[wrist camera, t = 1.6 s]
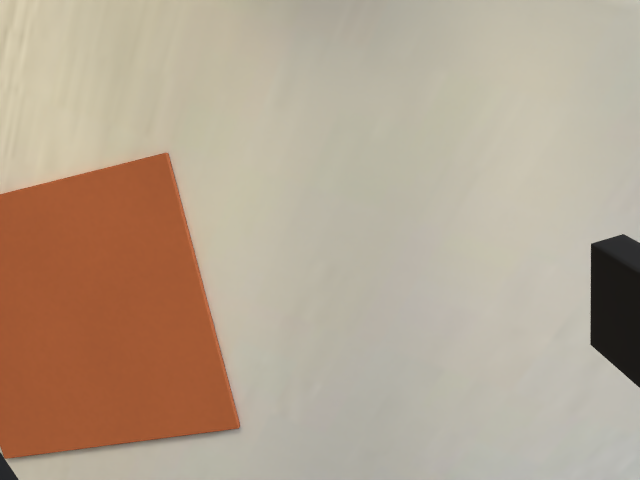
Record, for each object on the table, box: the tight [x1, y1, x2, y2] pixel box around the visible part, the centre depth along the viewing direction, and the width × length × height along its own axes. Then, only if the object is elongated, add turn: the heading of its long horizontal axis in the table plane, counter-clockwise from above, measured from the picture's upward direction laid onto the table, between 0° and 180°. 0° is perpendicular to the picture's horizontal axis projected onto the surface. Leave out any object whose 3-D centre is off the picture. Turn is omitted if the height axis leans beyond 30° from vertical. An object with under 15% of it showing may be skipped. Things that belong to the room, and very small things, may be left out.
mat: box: [0, 153, 240, 459], centre depth 38 cm, size 20×20×1 cm
